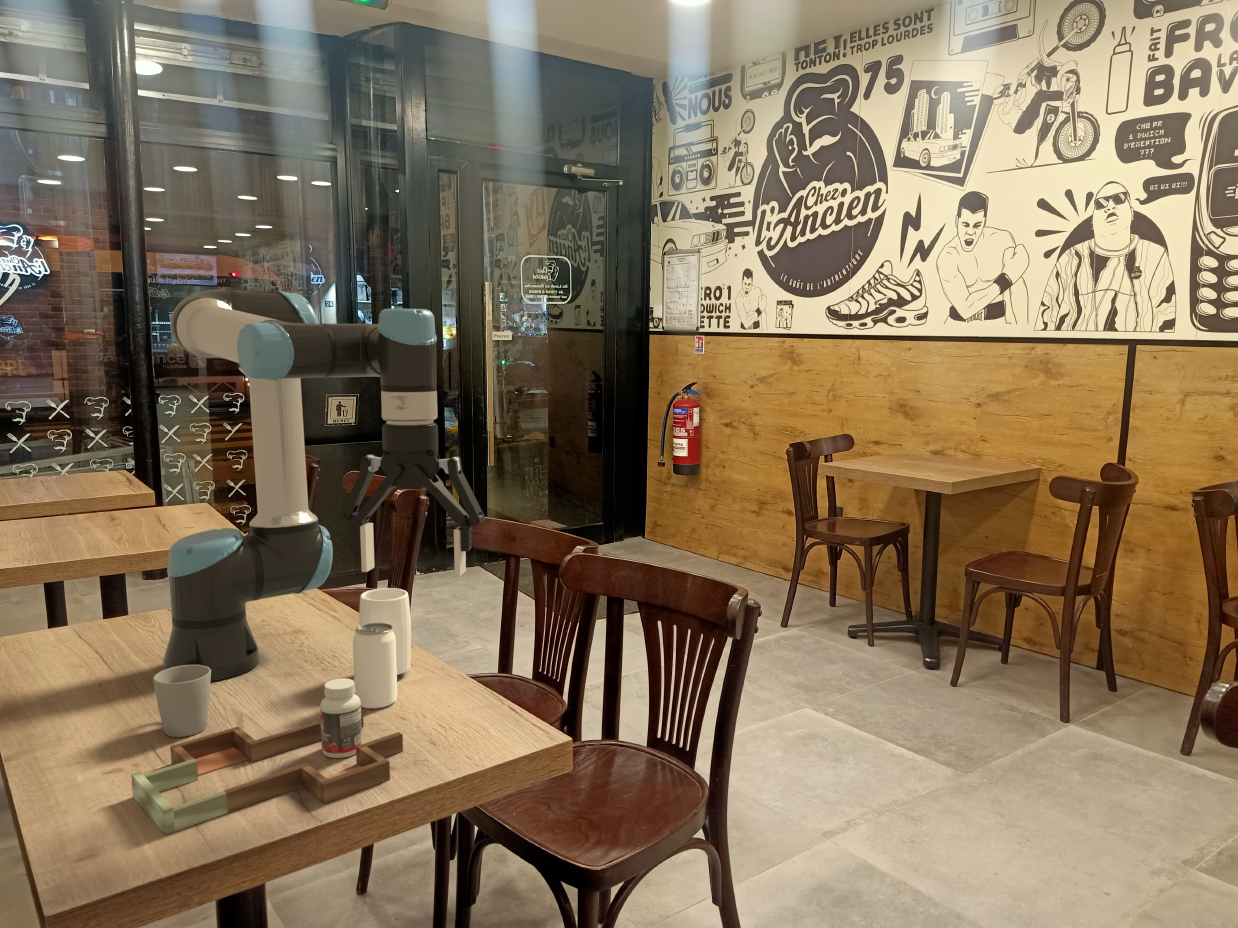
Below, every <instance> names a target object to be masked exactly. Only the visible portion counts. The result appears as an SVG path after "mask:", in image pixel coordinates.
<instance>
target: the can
mask: <svg viewBox="0 0 1238 928" xmlns="http://www.w3.org/2000/svg"><path fill="white" fill-rule="evenodd" d="M392 628H393V627H392V626H391V625H390V624H386V623H370V624H365V625H361V626H357V627H356V628H355V630H354V631H355V634H354V636H353V639H352V658H353V681H354V683H355V693H354V694H355V695H357V696H358V697H359V698H360V701H361V709H364V710H365V709H366V710H380V709H384V708H387V707H390V706H392V705H393V704H395V702H396V700H398V675H397V667H396V638H395V634H394V632H393V631H392Z"/></svg>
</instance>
